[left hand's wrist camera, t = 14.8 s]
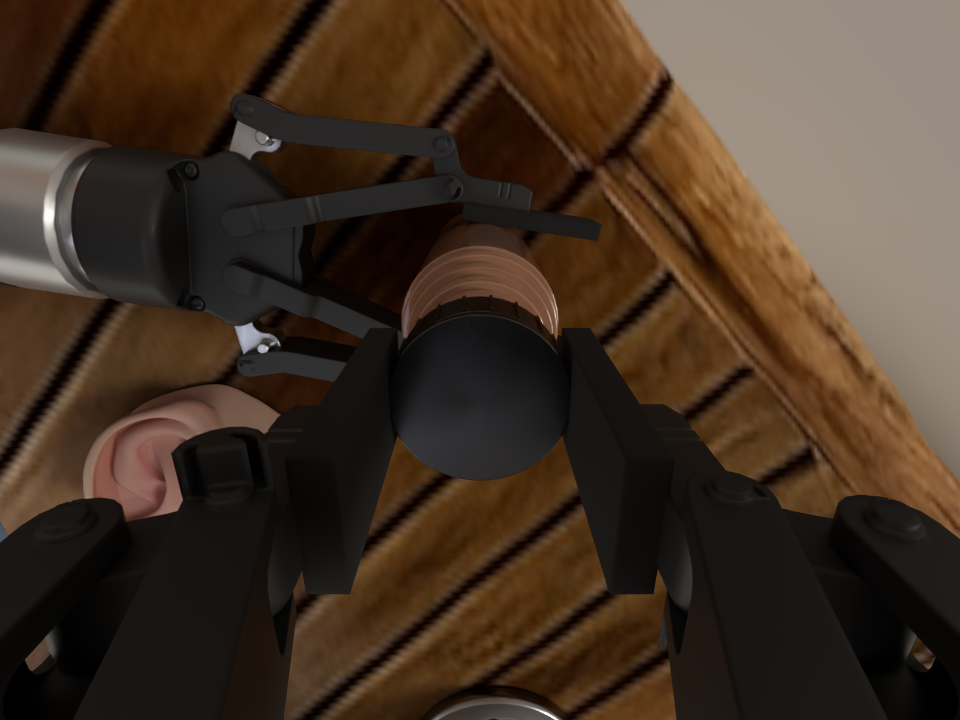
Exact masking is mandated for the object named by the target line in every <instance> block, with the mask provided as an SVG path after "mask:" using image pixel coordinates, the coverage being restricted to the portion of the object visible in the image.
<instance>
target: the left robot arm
mask: <svg viewBox="0 0 960 720" xmlns="http://www.w3.org/2000/svg"><path fill="white" fill-rule="evenodd" d="M398 351H399V344H398V328H369V330H368V332H367V333H366V335H365V336H364V338H363V339H362V341H361V342H360V344H359V345H358V347H357V348H356V350H355V351H354V353H353V354H352V356H351V357H350V359H349V360H348V362H347V364H346V365H345V367H344V368H343V370H342V371H341V373H340V374H339V376H338V377H337V379H336V380H335V382H334V383H333V385H332V386H331V388H330V389H329V391H328V393H327V394H326V396H325V397H324V399H323V400H322V402H321V403H320V405H319V406H295V407H294V408H292V409H290V410H289V411H287V412H285V413H284V414H282V415H280V416H279V417H278V418H277V419H276V420H275V421H274V423H273V424H272V425H271V427H270V428H269V429H268V432H266V433H265V434H264V433H262V432H261V431H260V430H258V429H254V428H250V427H226V428H220V429H215V430H210V431H208V432H205V433H202V434H199V435H196V436H193V437H192V438H190V439H188V440H186V441H185V442H183V443H181V444H180V445H179V446H178V447H177V448H176V449H175V450H174V451H173V452H172V453H171V456H172V460H173V464H174V467H175V471H176V475H177V479H178V483H179V487H180V491H181V495H182V499H183V501H182V503H181V505H180V507H179V509H178V511H175V512H171V513H167V514H162V515H157V516H152V517H147V518H142V519H137V520H131V521H127V520H126V517H125V513H124V510H123V507H122V505H121V504H120V503H118V502H117V501H116V500H114V499H108V498H102V497H98V498H88V499H78V500H73V501H72V502H66V503H63V504H60V505H57V506H56V507H54V508H52V509H50V510H48V511H45V512H43V513H41V514H39V515H37V516H36V517H34V518H32V519H31V520H29V521H28V522H26V523H25V524H23V525H21V526H20V527H19V528H18V529H16V530H15V531H14V532H13V533H11V534H10V535H9V536H7V537H6V538H5V539H4V540H2V541H1V542H0V720H283V718H284V710H285V702H286V694H287V686H288V678H289V670H290V662H291V654H292V646H293V638H294V630H295V622H296V607H295V600H294V594H293V590H294V587H295V585H296V583H297V581H298V578H299V576H300V574H301V571H303V578H304V584H305V590H306V594H350V592H351V589H352V586H353V582H354V579H355V576H356V572H357V569H358V566H359V562H360V559H361V556H362V552H363V549H364V546H365V542H366V539H367V535H368V532H369V529H370V525H371V522H372V519H373V515H374V512H375V509H376V505H377V502H378V499H379V495H380V492H381V489H382V485H383V482H384V479H385V475H386V472H387V469H388V465H389V462H390V459H391V455H392V452H393V449H394V445H395V442H396V438H397V435H398V434H397V432H396V430H395V428H394V425H393V423H392V420H391V415H390V402H389V382H390V377H391V374H392V372H393V369H394V366H395V364H396V361H397V359H398V357H396V355H397V353H398ZM561 356H562V358H563V361H564V363H565V366H566V368H567V370H568V373H569V379H570V382H571V397H570V411H569V419H568V422H567V425H566V428H565V430H564V432H563V434H562V436H563V440H564V443H565V446H566V450H567V453H568V456H569V460H570V463H571V466H572V470H573V473H574V476H575V480H576V483H577V486H578V490H579V493H580V496H581V500H582V503H583V507H584V510H585V513H586V517H587V520H588V523H589V527H590V530H591V533H592V537H593V540H594V543H595V547H596V550H597V553H598V557H599V560H600V563H601V567H602V570H603V573H604V577H605V580H606V583H607V587H608V590H609V594H654V588H655V581H656V575H657V569H658V570H659V572H660V574H661V576H662V579H663V581H664V583H665V586H666V588H667V594H666V600H665V606H664V612H663V617H662V623H661V629H660V635H659V641H658V647H659V648H664V649H665V644H666V638H667V645H668V653H669V661H670V669H671V677H672V685H673V693H674V701H675V709H676V717H677V720H960V539H959V538H958V537H957V536H955V535H954V534H953V533H951V532H950V531H949V530H948V529H946V528H945V527H944V526H942V525H941V524H940V523H938V522H937V521H935V520H934V519H932V518H930V517H929V516H927V515H926V514H924V513H923V512H921V511H919V510H916V509H914V508H912V507H909V506H907V505H906V504H904V503H902V502H899V501H896V500H893V499H891V500H889V498H885V497H880V496H867V495H856V496H849V497H845V498H844V499H843V500H841V501H840V502H839V503H838V505H837V509H836V512H835V515H834V518H833V519H830V518H825V517H820V516H815V515H810V514H804V513H799V512H794V511H790V510H786V509H782V508H781V506H780V504H779V502H778V500H777V498H776V497H775V496H774V495H773V494H772V492H771V491H770V490H769V489H768V488H766V487H765V486H763V485H762V484H760V483H759V482H757V481H756V480H753V479H751V478H748V477H746V476H744V475H741V474H738V473H734V472H729V471H726V470H725V469H724V468H723V466H722V465H721V464H720V463H719V461H718V460H717V459H716V458H715V456H714V455H713V454H712V453H711V451H710V450H709V449H708V448H707V446H706V445H705V444H704V442H703V441H700V437H699V436H698V435H697V434H696V432H695V431H694V430H692V427H691V426H690V425H689V424H688V422H687V421H686V420H685V419H684V417H683V416H682V415H681V414H679V413H677V412H676V411H674V410H672V409H671V408H669V407H667V406H666V405H664V404H639V402H638V401H637V399H636V398H635V396H634V395H633V393H632V392H631V390H630V389H629V387H628V385H627V384H626V382H625V381H624V379H623V378H622V376H621V375H620V373H619V372H618V370H617V369H616V367H615V366H614V364H613V363H612V361H611V360H610V358H609V356H608V355H607V353H606V352H605V350H604V349H603V347H602V346H601V344H600V343H599V341H598V340H597V338H596V337H595V335H594V334H593V332H592V331H591V329H590V328H562V338H561ZM916 636H917V637H918V638H919V639H920V640H921V641H922V642H923V643H924V644H925V645H926V647H927V648H928V649H929V650H930V651H931V652H932V653H933V654H934V655H935V656H936V658H935V660H934V663H933V665H932V667H931V668H930V669H927V668H925V667H924V666H923V665H922V664H921V663H920V662H919V661H918V660H917V659H916V658H915V657H914V656H913V655H912V653H911V652H910V650H911V647H912V645H913V643H914V640H915V638H916ZM43 639H45V642H46V644H47V646H48V649H49V651H50V653H51V654H50V655H49V656H48V657H47V658H46V660H45V661H44V662H43V663H42V664H41V665H40V666H38V667H37V668H36V669H35V670H34V671H31V670H29V668H28V666H27V664H26V662H25V659H26V658H27V657H28V655H29V654H30V653H31V652H32V651H33V650H34V649H35V648H36V647H37V646H38V645H39V644H40V643H41V641H42V640H43ZM423 720H570V719H569V718H568V717H567V715H566V714H565V713H564V712H563V711H562V710H561V709H560V708H559V707H558V706H556V705H555V704H553V703H552V702H550V701H548V700H547V699H545V698H542V697H540V696H538V695H535V694H532V693H529V692H526V691H521V690H516V689H509V688H485V689H478V690H472V691H468V692H464V693H461V694H458V695H455V696H453V697H451V698H448V699H446V700H445V701H443V702H441V703H440V704H438V705H437V706H435V707H434V708H433V709H432V710H431V711H429V713H428V714H427V715H426V716H425V717H424V718H423Z"/></svg>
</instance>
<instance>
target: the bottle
mask: <svg viewBox="0 0 960 720" xmlns="http://www.w3.org/2000/svg"><path fill="white" fill-rule="evenodd" d="M461 219H462V213H461V214H458V215H457V216H455V217H454V218H452V219H451V220H450V221H449V222H448V223H447V224H446V225H445V226H444V227H443V229H442V230H441V232H440V234H439V235H438V237H437V239H436V241H435V243H434V244H433V246H432V248H431V250H430V252H429V253H428V255H427V257H426V259H425V261H424V262H423V264H422V266H421V268H420V270H419V271H418V273H417V275H416V277H415V279H414V280H413V282H412V284H411V286H410V288H409V290H408V292H407V294H406V297H405V300H404V304H403V309H402V319H401V323H402V335H403V339H404V337H405V338H407V336H408V335H409V333H410V332H411V330H412V329H413V328H414V326H415V325H416V322H417V320H418V319H419V318H420V319H422V318H423V317H424V316H425V315H427V314H428V313H429V312H430V311H432V310H434V309H435V308H437V306H438V304H440V303H441V305H443V304H445V303H447V302H450V301H453V300H456V299H460V298H463V296H464V295H466V297H473V296H486V297H489V295H492V296H493V297H495V298H500V299H504V300H507V301H510V302H513V303H514V302H515V301H516V302H518V305H519V306H521V307H523V308H525V309H526V310H528V311H529V312H531V313H532V314H533V315H535V316H536V315H538V316H539V318H540V320H541V322H542V323H543V324H544V325H545V327H546V328H547V329H548V330H549V332H550V334H554V336H555V338H556V340H557V335H558V309H557V305H556V300H555V297H554V295H553V292H552V290H551V288H550V286H549V284H548V283H547V281H546V279H545V277H544V275H543V274H542V272H541V270H540V268H539V266H538V265H537V263H536V261H535V259H534V257H533V256H532V254H531V252H530V250H529V248H528V247H527V245H526V243H525V241H524V239H523V238H522V236H521V234H520V232H519V230H518V229H517V228H510V227H504V226H497V225H491V224H484V223H478V222H471V221H465V220H461Z"/></svg>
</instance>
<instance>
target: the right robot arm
mask: <svg viewBox="0 0 960 720" xmlns="http://www.w3.org/2000/svg"><path fill="white" fill-rule="evenodd" d="M230 108H231V112H232V114H233V116H234V117H235V119H237V124H236V128H235V131H234V135H233V139H232V142H231V146H230V150H229V151H222V152H219V153H217V154H214V155H212V156H209V157H200V156H193V155H187V154H180V153H174V152H167V151H161V150H154V149H148V148H141V147H135V146H128V145H116V146H112V145H110V144H108V143H106V142H103V141H96V140H90V139H83V138H77V137H70V136H64V135H58V134H51V133H45V132H38V131H32V130H25V129H19V128H7V127H0V284H1V285H7V286H13V287H23V288H29V289H36V290H42V291H49V292H56V293H62V294H69V295H75V296H82V297H89V298H97V299H106V298H111V299H113V300H116V301H120V302H126V303H133V304H140V305H148V306H155V307H162V308H169V309H176V310H184V311H195V312H204V313H208V314H210V315H212V316H215V317H216V318H218V319H219V320H221V321H222V322H224V323H226V324H228V325H231V326H234V328H235V331H236V333H237V336H238V339H239V342H240V345H241V348H242V351H243V355H242V356H241V357H240V358H239V359H238V361H237V368H238V370H239V372H241V373H242V374H243V375H245V376H259V375H266V374H273V373H281V372H284V373H290V374H295V375H301V376H306V377H312V378H317V379H323V380H328V381H334V382H335V380H336V379H337V377H338V376H339V374H340V373H341V371H342V370H343V368H344V367H345V365H346V364H347V362H348V360H349V359H350V357H351V356H352V354H353V353H354V351H355V350H356V348H357V347H354V346H349V345H344V344H338V343H333V342H328V341H323V340H317V339H312V338H306V337H285V336H284V332H283V331H282V330H279V329H276V328H269V327H266V326H265V325H263V324H262V323H261V321H260V319H259V318H261V317H262V316H264V315H266V314H268V313H270V312H272V311H273V310H275V309H277V308H279V307H280V308H282V309H285V310H287V311H289V312H292V313H294V314H296V315H299V316H302V317H312V318H315V319H318V320H320V321H323V322H325V323H327V324H330V325H332V326H334V327H337V328H339V329H341V330H344V331H346V332H348V333H351V334H353V335H355V336H357V337H360V338H362V339H363V338H364V336H365V335H366V333H367V332H368V330H369V328H398V344H399V348H400V346H401V344H402V341H403V335H402V323H401V319H402V315H400V314H398V313H395V312H393V311H391V310H389V309H386V308H384V307H382V306H380V305H377V304H375V303H373V302H370V301H368V300H366V299H364V298H361V297H359V296H357V295H355V294H352V293H350V292H348V291H346V290H343V289H341V288H339V287H337V286H335V285H333V284H332V282H331V281H329V280H328V279H326V278H323V277H321V276H319V275H317V274H314V261H313V256H312V252H311V246H312V243H313V240H314V237H315V227H316V223H320V222H324V221H331V220H337V219H344V218H350V217H357V216H363V215H370V214H377V213H383V212H390V211H396V210H403V209H409V208H416V207H422V206H429V205H435V204H442V203H448V202H452V203H454V202H459V203H463V211H462V219H461V220H465V221H471V222H478V223H484V224H491V225H497V226H504V227H510V228H517V229H523V230H530V231H536V232H543V233H549V234H556V235H562V236H569V237H576V238H582V239H589V240H595V241H598V238H599V233H600V229H601V224H599V223H597V222H595V221H593V220H591V219H589V218H582V217H576V216H570V215H563V214H557V213H550V212H544V211H537V210H531V209H530V204H531V199H532V193H533V191H531V190H530V189H528V188H527V187H525V186H523V185H522V184H517V183H511V182H505V181H498V180H492V179H486V178H479V177H474V176H470V175H469V174H467V173H466V172H465V171H464V170H463V168H462V166H461V163H460V158H459V153H458V149H457V142H456V140H455V138H454V137H453V135H451V134H450V133H449V132H448V131H446V130H443V129H434V128H424V127H415V126H405V125H395V124H386V123H376V122H367V121H357V120H347V119H338V118H328V117H319V116H309V115H299V114H295V113H293V112H291V111H289V110H287V109H285V108H283V107H281V106H279V105H277V104H275V103H273V102H271V101H269V100H265V99H262V98H259V97H255V96H252V95H248V94H244V93H240V94H237V95H235V96H234V97H233V98H232V100H231V105H230ZM288 142H289V143H295V144H303V145H313V146H323V147H333V148H342V149H352V150H362V151H372V152H381V153H391V154H401V155H411V156H421V157H430V158H432V162H433V167H434V171H435V176H431V177H424V178H418V179H412V180H405V181H399V182H392V183H386V184H380V185H373V186H367V187H360V188H354V189H347V190H341V191H335V192H328V193H321V194H315V195H308V196H302V197H298V196H297V195H295V194H294V193H293V192H292V191H291V190H290V189H289V188H288V187H287V186H286V185H284V184H283V183H282V182H281V181H280V180H279V179H278V178H277V177H276V176H275V175H273V174H272V173H271V172H270V171H269V170H268V169H267V168H266V167H265V166H264V165H262V164H261V163H260V162H259V161H258V158H259V156H260V155H261V154H262V153H264V152H273V153H278V152H282V151H283V150H284V149H285V148H286V147H287V144H288ZM561 338H562V336H560V335H557V343H558V345H559V347H560V350H561ZM560 355H561V353H560ZM7 536H9V535H8V534H7V532H6V530H5V529H4V527H3V525H2V524H1V522H0V542H1V541H2V540H4V539H5V538H6V537H7Z"/></svg>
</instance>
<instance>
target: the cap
mask: <svg viewBox="0 0 960 720" xmlns="http://www.w3.org/2000/svg"><path fill="white" fill-rule="evenodd" d="M560 353H561V350H560V347H559V345H558V343H557V340H556V338H555V336H554V334H550V332H549V330H548V329H547V328H546V327H545V325H544V324H543V323H542V322H541V320H540V318H539V316H538V315H536V316H535V315H533V314H532V313H531V312H529V311H528V310H526V309H525V308H523V307H521V306H519V305H518V302H516V301H515V302H514V303H513V302H510V301H507V300H504V299H500V298H495V297H493V296H492V295H489V297H486V296H473V297H466V295H464V296H463V298H460V299H456V300H453V301H450V302H447V303H445V304H443V305H441V303H440V304H438V306H437V308H435V309H434V310H432V311H430V312H429V313H428V314H427V315H425V316H424V317H423V318H422V319H420V318H419V319H418V320H417V322H416V325H415V326H414V328H413V329H412V330H411V332H410V333H409V335H408V336H407V338H405V337H404V339H403V341H402V344H401V346H400V348H399V351H398V353H397V355H396V357H398V359H397V361H396V364H395V366H394V369H393V372H392V374H391V377H390V382H389V402H390V415H391V420H392V423H393V425H394V428H395V430H396V432H397V434H398V436H399V437H400V439H401V441H402V442H403V443H404V445H405V446H406V447H407V448H408V450H409V451H410V452H411V453H412V454H413V455H414V456H415V457H416V458H418V459H419V460H420V461H422V462H423V463H424V464H426V465H428V466H429V467H431V468H433V469H434V470H436V471H439V472H441V473H443V474H446V475H449V476H452V477H456V478H461V479H466V480H493V479H500V478H504V477H508V476H511V475H514V474H516V473H519V472H521V471H523V470H525V469H527V468H529V467H531V466H532V465H534V464H535V463H537V462H538V461H540V460H541V459H542V458H543V457H544V456H545V455H547V454H548V453H549V452H550V450H551V449H552V448H553V447H554V446H555V445H556V443H557V442H558V440H559V439H560V437H561V436H562V434H563V432H564V430H565V428H566V425H567V422H568V419H569V411H570V397H571V382H570V379H569V373H568V370H567V368H566V366H565V363H564V361H563V358H562V356H561V355H560Z"/></svg>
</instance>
